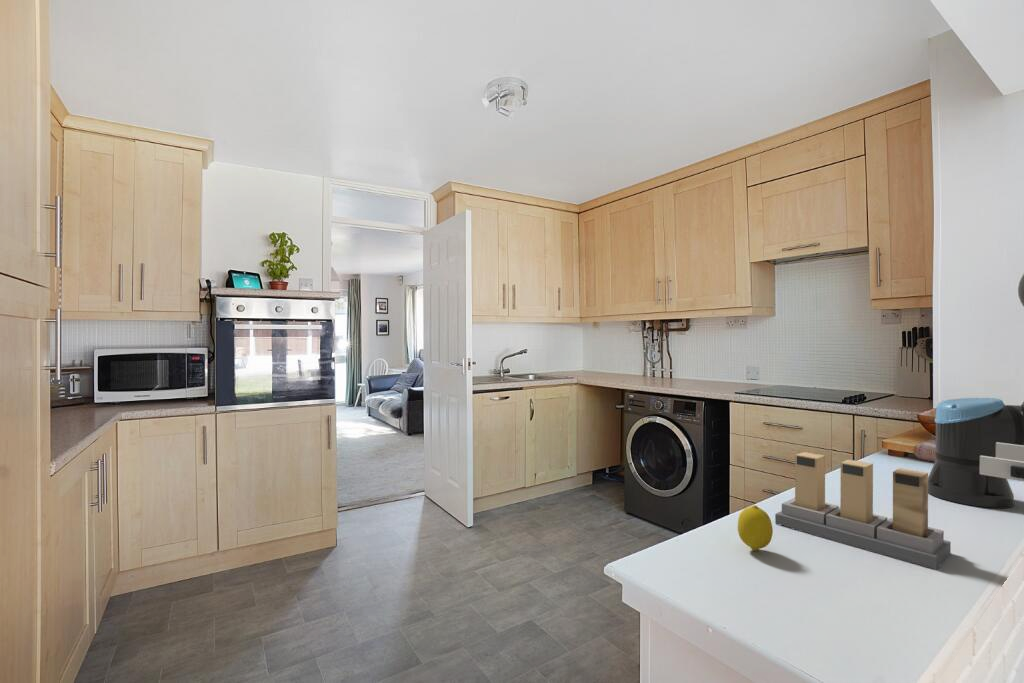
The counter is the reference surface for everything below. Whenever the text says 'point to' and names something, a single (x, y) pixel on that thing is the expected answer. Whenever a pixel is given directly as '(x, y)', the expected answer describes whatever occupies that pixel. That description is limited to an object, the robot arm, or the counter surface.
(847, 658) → the counter surface
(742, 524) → the lemon
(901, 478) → the oak finger
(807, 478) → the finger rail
